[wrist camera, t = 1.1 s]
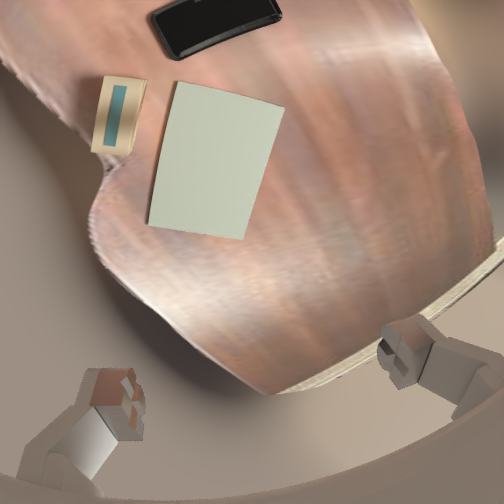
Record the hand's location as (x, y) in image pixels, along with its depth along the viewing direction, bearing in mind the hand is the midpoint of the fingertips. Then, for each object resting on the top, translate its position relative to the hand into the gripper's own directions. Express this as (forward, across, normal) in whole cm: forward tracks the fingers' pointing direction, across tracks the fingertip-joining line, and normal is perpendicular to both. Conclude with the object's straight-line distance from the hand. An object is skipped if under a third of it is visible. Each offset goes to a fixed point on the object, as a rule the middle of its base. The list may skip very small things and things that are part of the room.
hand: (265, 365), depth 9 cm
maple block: (+32, +10, -11) cm, 35 cm away
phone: (+31, -2, -23) cm, 38 cm away
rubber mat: (+33, 0, -2) cm, 33 cm away
